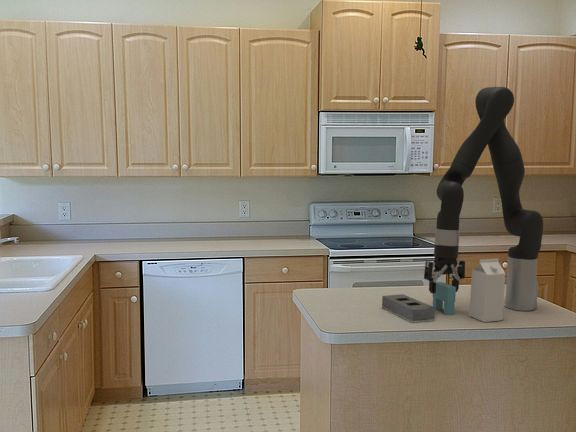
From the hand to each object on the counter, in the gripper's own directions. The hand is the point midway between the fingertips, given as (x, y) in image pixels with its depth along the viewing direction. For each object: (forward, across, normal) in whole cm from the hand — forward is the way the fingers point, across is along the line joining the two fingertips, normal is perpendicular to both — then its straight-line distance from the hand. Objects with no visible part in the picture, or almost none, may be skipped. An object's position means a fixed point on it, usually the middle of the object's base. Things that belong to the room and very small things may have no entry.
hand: (443, 292), depth 186 cm
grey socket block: (+7, +12, -2) cm, 14 cm away
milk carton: (+6, -8, +11) cm, 15 cm away
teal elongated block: (+6, 0, 0) cm, 6 cm away
